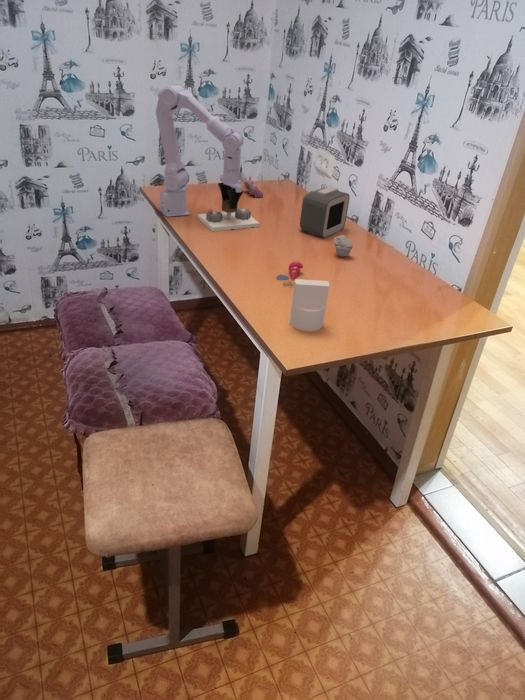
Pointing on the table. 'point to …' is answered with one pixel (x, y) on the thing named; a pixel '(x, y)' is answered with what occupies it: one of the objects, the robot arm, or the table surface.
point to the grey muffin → (342, 245)
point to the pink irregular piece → (253, 188)
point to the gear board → (228, 220)
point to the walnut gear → (227, 207)
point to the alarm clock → (324, 211)
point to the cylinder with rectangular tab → (309, 304)
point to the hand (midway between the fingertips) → (229, 205)
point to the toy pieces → (291, 273)
